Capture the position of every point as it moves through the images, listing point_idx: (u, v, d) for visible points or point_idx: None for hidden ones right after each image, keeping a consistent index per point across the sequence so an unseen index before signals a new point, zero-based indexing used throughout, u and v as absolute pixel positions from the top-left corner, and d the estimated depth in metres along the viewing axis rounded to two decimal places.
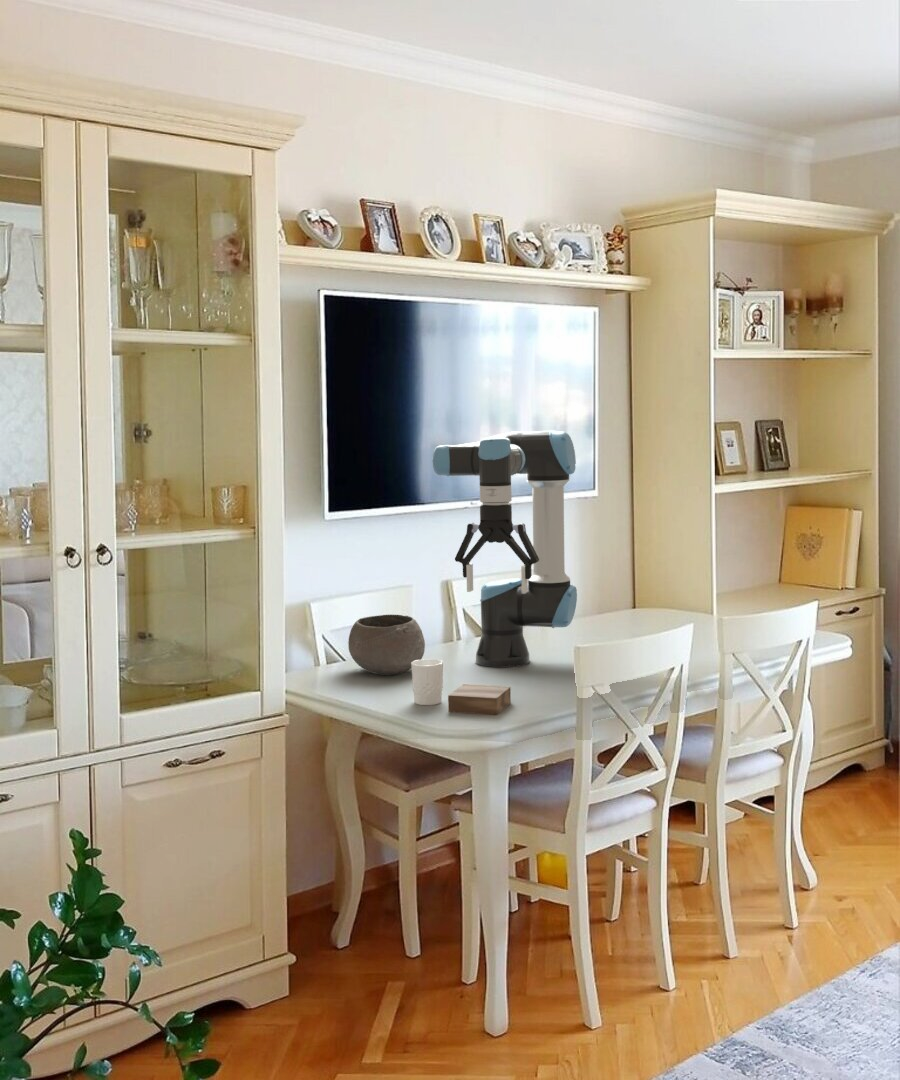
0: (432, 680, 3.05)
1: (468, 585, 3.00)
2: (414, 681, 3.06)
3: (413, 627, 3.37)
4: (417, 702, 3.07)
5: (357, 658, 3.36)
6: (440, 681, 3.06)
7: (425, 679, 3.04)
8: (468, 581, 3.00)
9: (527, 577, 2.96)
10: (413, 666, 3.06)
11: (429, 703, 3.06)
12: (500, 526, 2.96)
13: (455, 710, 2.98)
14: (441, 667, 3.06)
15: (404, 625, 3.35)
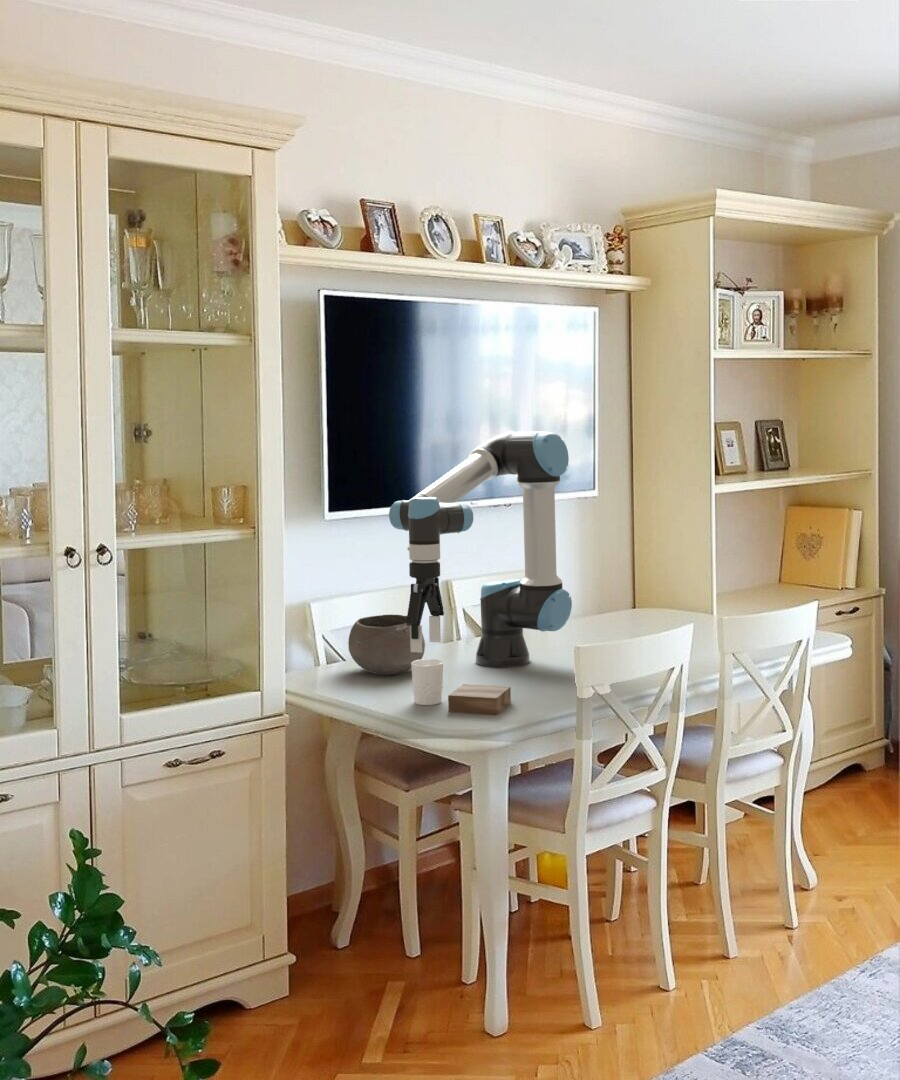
0: (432, 680, 3.05)
1: None
2: (414, 681, 3.06)
3: None
4: (417, 702, 3.07)
5: (357, 658, 3.36)
6: (440, 681, 3.06)
7: (424, 679, 3.04)
8: None
9: None
10: (413, 666, 3.06)
11: (429, 703, 3.06)
12: None
13: (455, 710, 2.98)
14: (441, 667, 3.06)
15: (404, 625, 3.35)
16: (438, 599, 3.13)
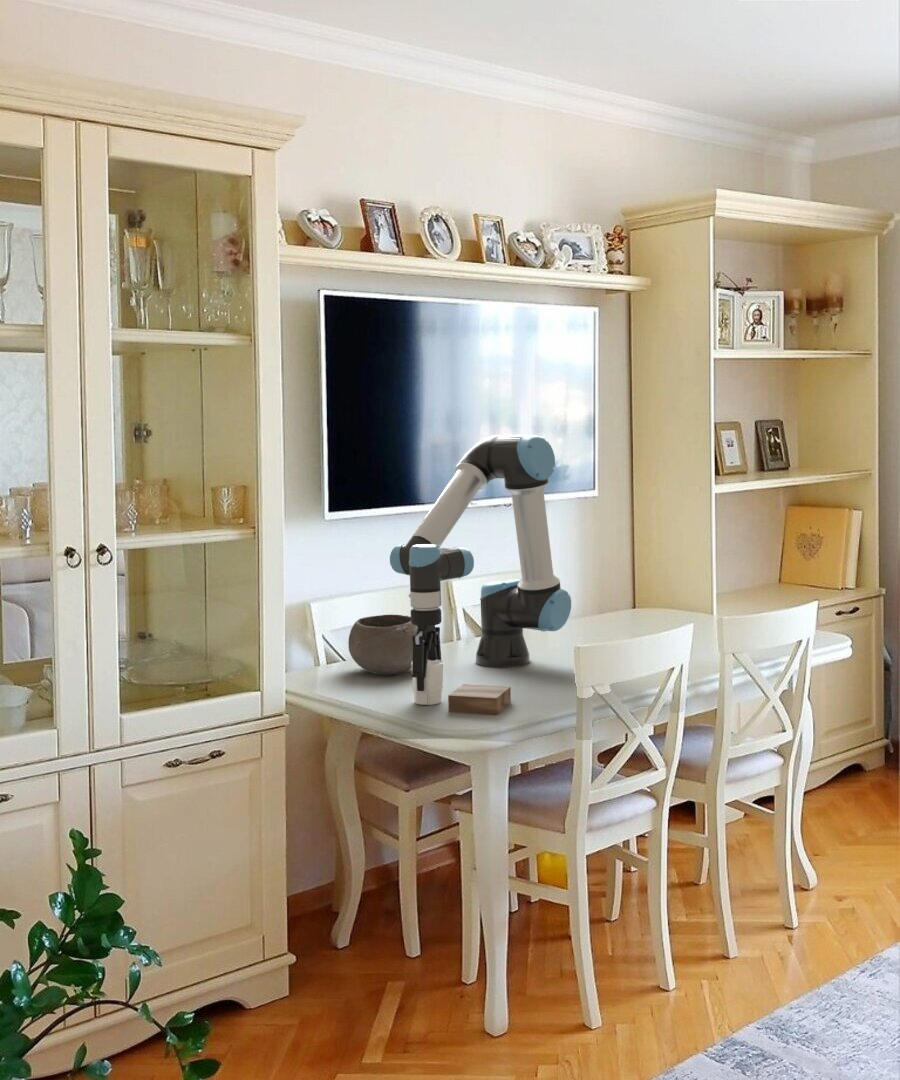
0: (432, 680, 3.05)
1: None
2: (414, 681, 3.06)
3: (413, 627, 3.37)
4: None
5: (357, 658, 3.36)
6: (440, 681, 3.06)
7: None
8: None
9: None
10: None
11: (429, 703, 3.06)
12: None
13: (455, 710, 2.98)
14: (441, 667, 3.06)
15: (404, 625, 3.35)
16: (437, 650, 3.13)
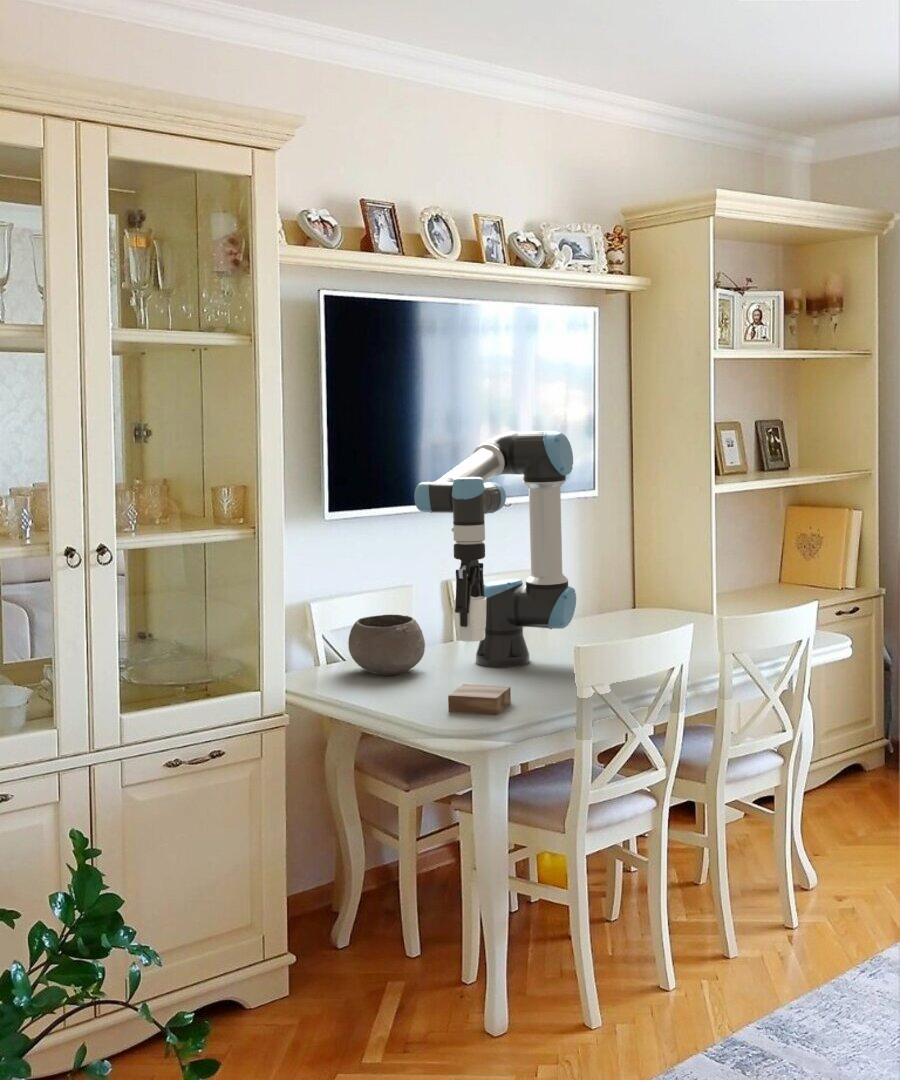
0: (475, 616, 2.97)
1: None
2: (457, 617, 2.99)
3: (413, 627, 3.37)
4: None
5: (357, 658, 3.36)
6: (483, 617, 2.99)
7: None
8: None
9: None
10: None
11: (472, 639, 2.98)
12: None
13: (455, 710, 2.98)
14: (485, 603, 2.99)
15: (404, 625, 3.35)
16: (481, 587, 3.05)
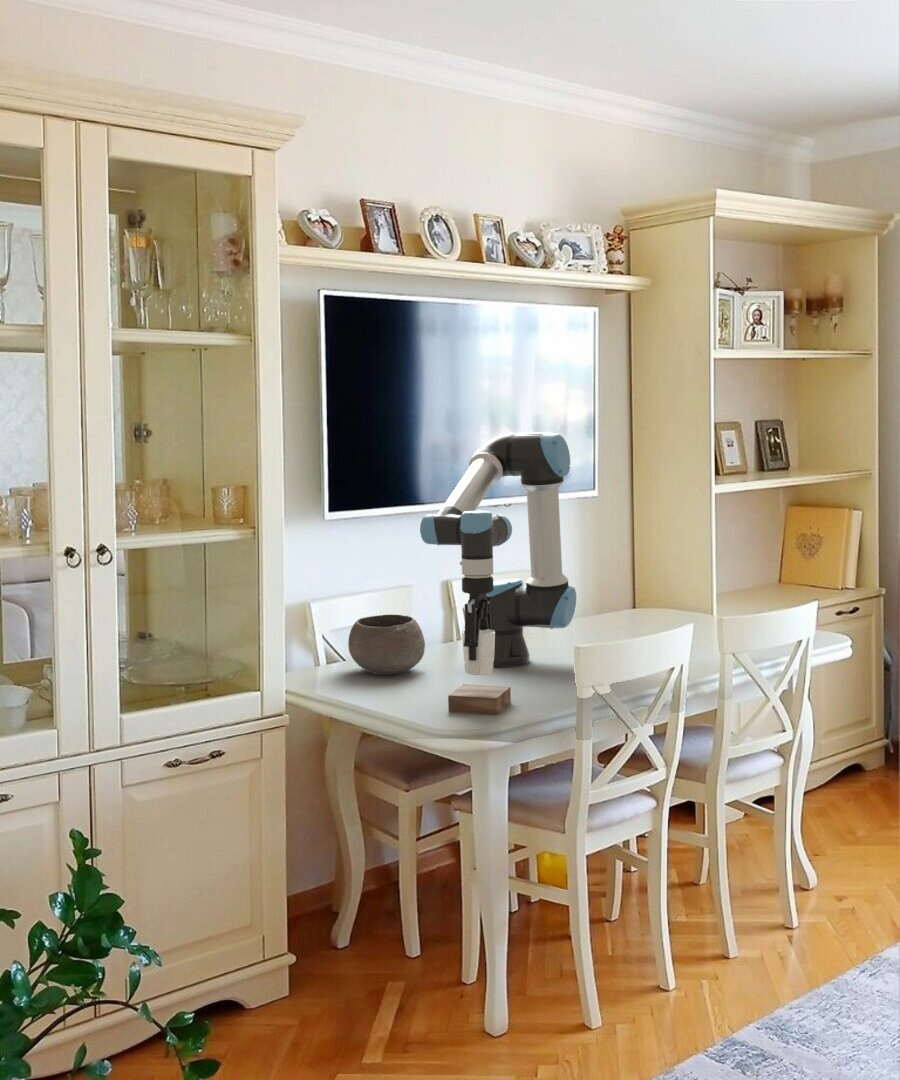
0: (484, 649, 2.97)
1: None
2: (466, 651, 2.99)
3: (413, 627, 3.37)
4: None
5: (357, 658, 3.36)
6: (492, 651, 2.99)
7: None
8: None
9: None
10: (464, 635, 2.98)
11: (481, 673, 2.98)
12: None
13: (455, 710, 2.98)
14: (493, 636, 2.99)
15: (404, 625, 3.35)
16: (488, 620, 3.05)
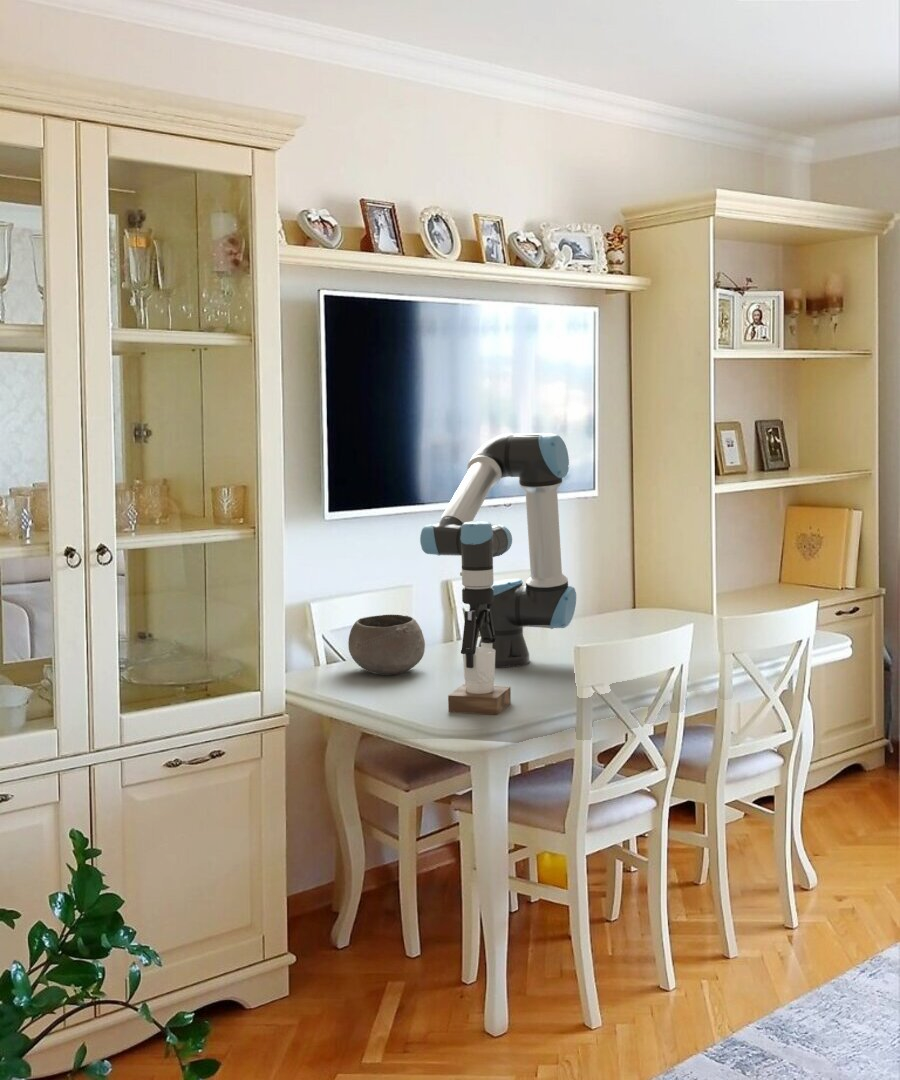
0: (485, 668, 2.98)
1: None
2: None
3: (413, 627, 3.37)
4: (469, 691, 3.00)
5: (357, 658, 3.36)
6: (492, 669, 2.99)
7: (477, 667, 2.97)
8: None
9: None
10: None
11: (481, 692, 2.99)
12: None
13: (455, 710, 2.98)
14: (493, 655, 2.99)
15: (404, 625, 3.35)
16: (490, 625, 3.07)
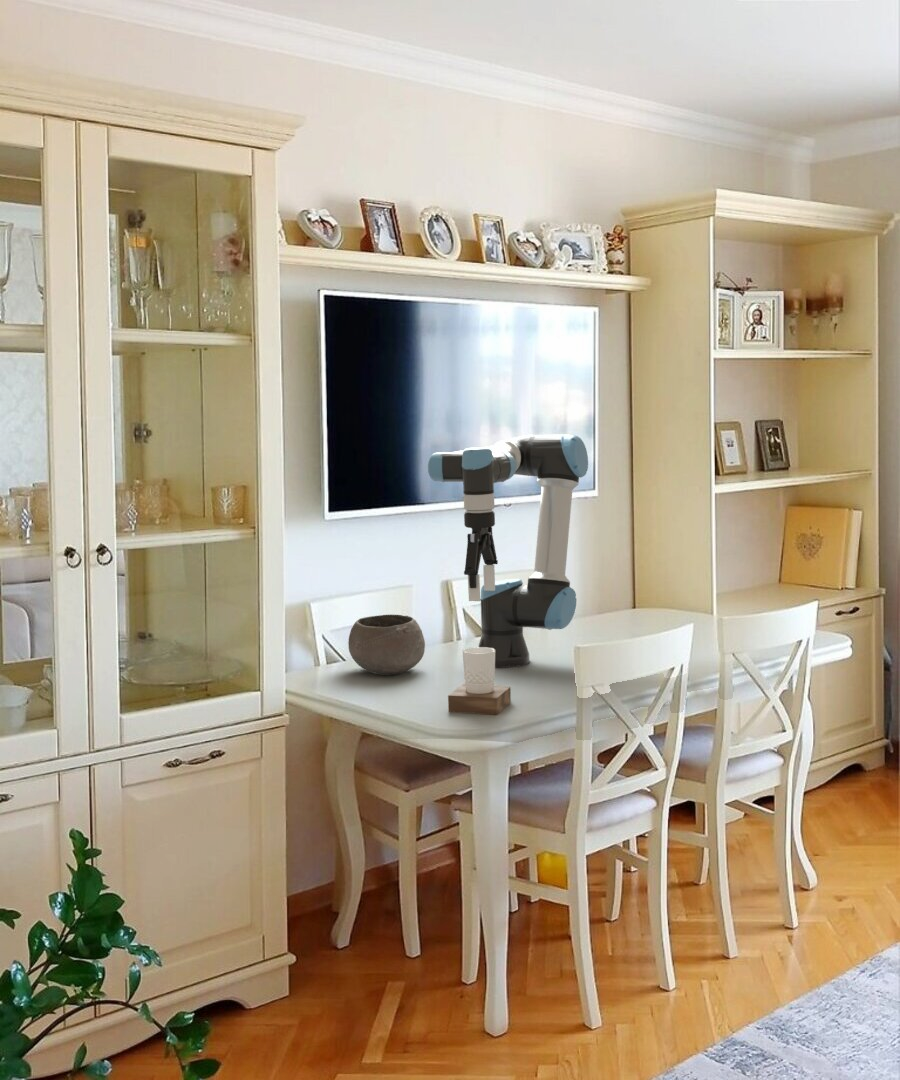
0: (485, 668, 2.98)
1: None
2: (466, 669, 2.99)
3: (413, 627, 3.37)
4: (469, 691, 3.00)
5: (357, 658, 3.36)
6: (492, 669, 3.00)
7: (477, 667, 2.98)
8: None
9: None
10: (465, 654, 2.99)
11: (481, 692, 2.99)
12: None
13: (455, 710, 2.98)
14: (493, 655, 2.99)
15: (404, 625, 3.35)
16: (492, 548, 3.17)
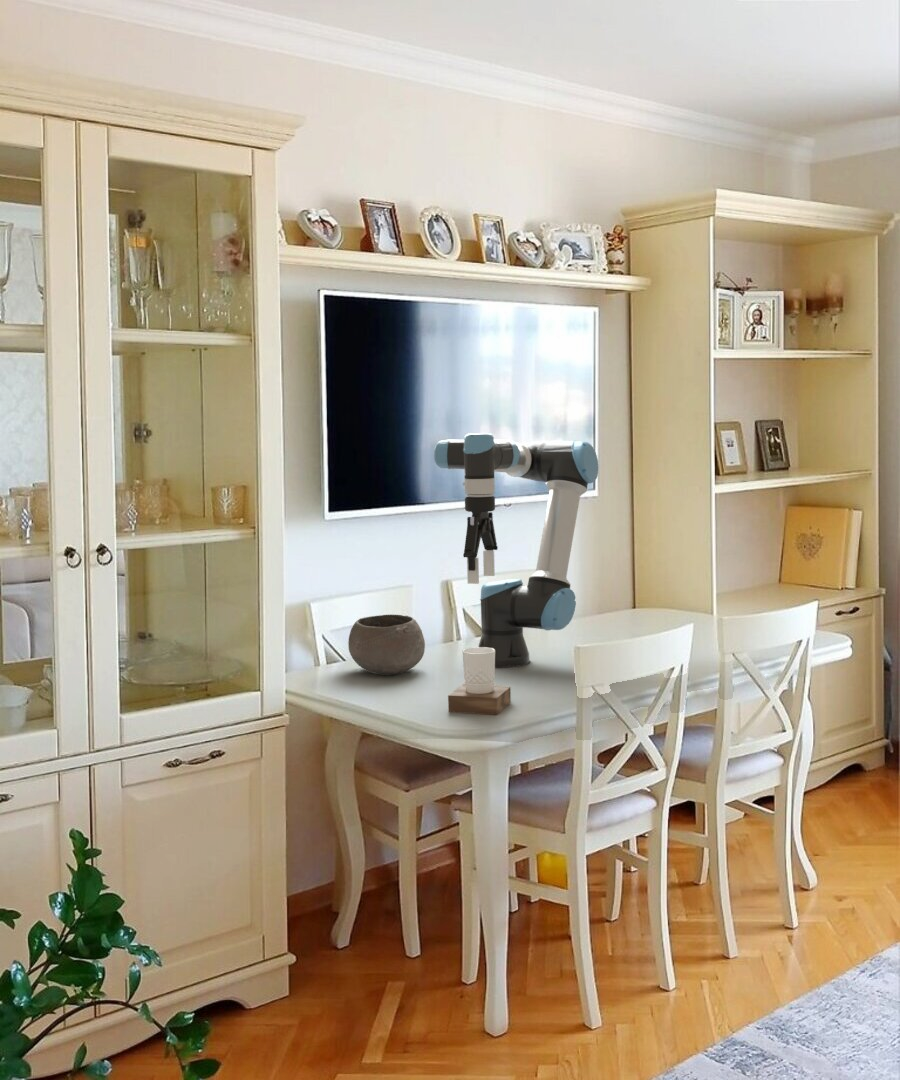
0: (484, 668, 2.98)
1: None
2: (466, 670, 2.99)
3: (413, 627, 3.37)
4: (469, 691, 3.00)
5: (357, 658, 3.36)
6: (492, 669, 3.00)
7: (477, 667, 2.98)
8: None
9: None
10: (465, 654, 2.99)
11: (481, 692, 2.99)
12: None
13: (455, 710, 2.98)
14: (493, 655, 2.99)
15: (404, 625, 3.35)
16: (492, 534, 3.21)
